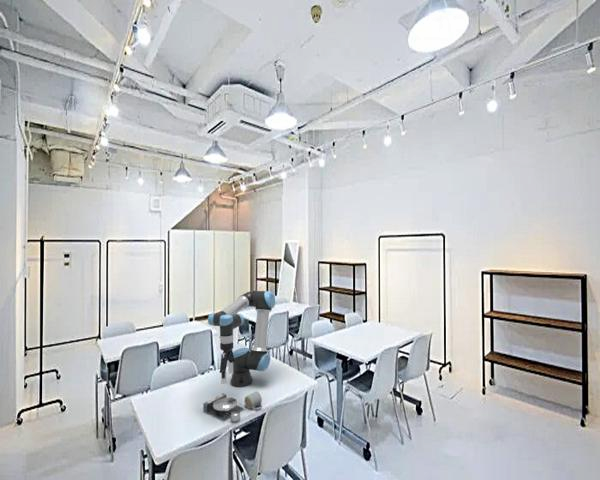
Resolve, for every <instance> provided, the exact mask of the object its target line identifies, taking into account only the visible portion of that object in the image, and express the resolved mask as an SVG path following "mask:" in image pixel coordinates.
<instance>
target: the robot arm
mask: <svg viewBox="0 0 600 480" xmlns="http://www.w3.org/2000/svg"><path fill="white" fill-rule="evenodd" d="M275 306H276V296H275V295H274V293H273V292H272V291H268V290H251V291H247V292H245V293H243V294H241V295H239V296H238V297H237V299H236V300H235V301H233V302H232V303H230V304H229V305H227V306H226V307H224V308H223V309H221V310H220V311H218V312H216V313H215V312H213V313H211V312H210V314H208V316H207V317H208V318H207V323H208V324H209V326H213V327H219V333H220V334H219V337H218V338H219V347H220V351H223V352H222V353H221V354H220V355H221V357H220V367H219V373H220V377H221V379H220V380H221V384H222V385H223V384H225V385H226V384H227V366H228V374H231V378H230V385H231V386H232V387H235V388H243V387H247V386H250V385H251V384H252V383H253V377H252V373H251V371H257V372H264V371H266V370H267V369H268V367H269V365H270V362H271V354H270V353H268V352H269V350H268V349H267V340H268V331H269V330H268V328H269V318H270V317H269V316H270V313H271V312H272V310H273V308H275ZM251 307H252V308H255V311H256V319H255V320H256V321H255V331H254V338H253V340H254V341H253V347H252V348H251V349H250V348H248V347H242V348H238V349H235V350H234V351H233V349H234V329H236V328H239V327H241V326H242V325H244V323H245V316H244V315H243V314H242V313H240V312H241V311H242V310H244V309H248V308H251ZM250 370H251V371H250Z"/></svg>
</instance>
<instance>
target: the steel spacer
mask: <svg viewBox="0 0 600 480" xmlns="http://www.w3.org/2000/svg"><path fill="white" fill-rule="evenodd" d="M240 421H241V412H239V411H234V412H232V413H231V418H230V422H231V423H232V424H236V423H240Z"/></svg>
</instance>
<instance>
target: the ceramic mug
mask: <svg viewBox="0 0 600 480" xmlns="http://www.w3.org/2000/svg"><path fill="white" fill-rule="evenodd" d="M262 400H263V398H262V395H261V394H260V392H259V391H257V390H256V391H254V392H252V393H250V394H248V395H247V396H245V397H244V404H245V407H246V408H248V409H253V410H254V411H257V412H258V411H260V410H261V409H262V407H263V403H262V402H263V401H262ZM257 406H260V407H259V408H256V407H257Z"/></svg>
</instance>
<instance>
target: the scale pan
mask: <svg viewBox="0 0 600 480" xmlns="http://www.w3.org/2000/svg"><path fill="white" fill-rule="evenodd" d="M236 405H237V406H238V400H237V398H233V397H226V398H221V399H218V400H217V401H215V402H214V403H213V408H214V409H215V410H218V411H227V410H230V409H233V408H234V407H236Z"/></svg>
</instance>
